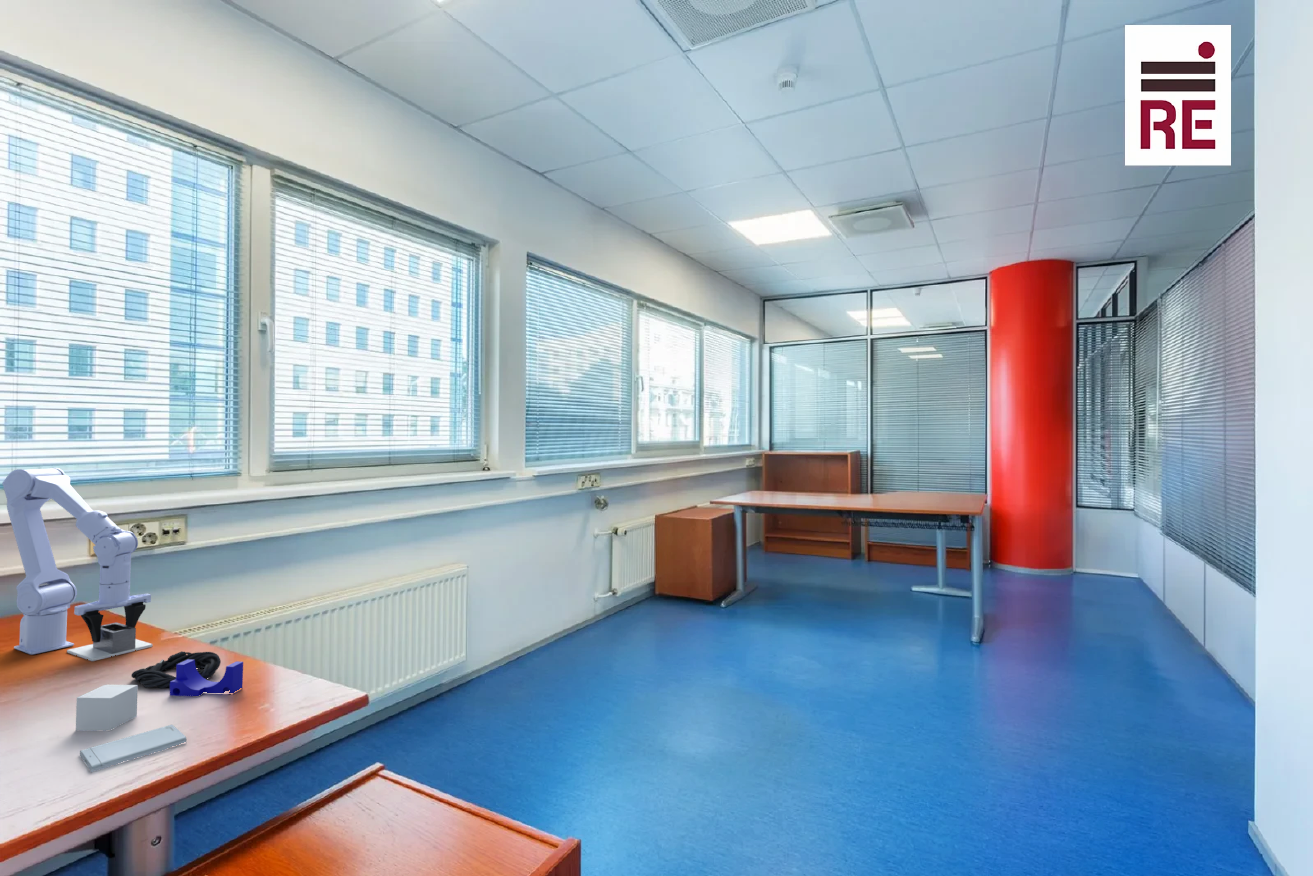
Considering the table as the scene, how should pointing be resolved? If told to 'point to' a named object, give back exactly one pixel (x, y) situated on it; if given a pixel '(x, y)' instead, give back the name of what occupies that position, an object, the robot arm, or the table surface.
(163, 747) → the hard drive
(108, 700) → the light grey cube
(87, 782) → the table surface
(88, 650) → the keeper plate
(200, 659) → the cable
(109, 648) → the grey open storage bin
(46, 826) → the table surface
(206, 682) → the cable clip
